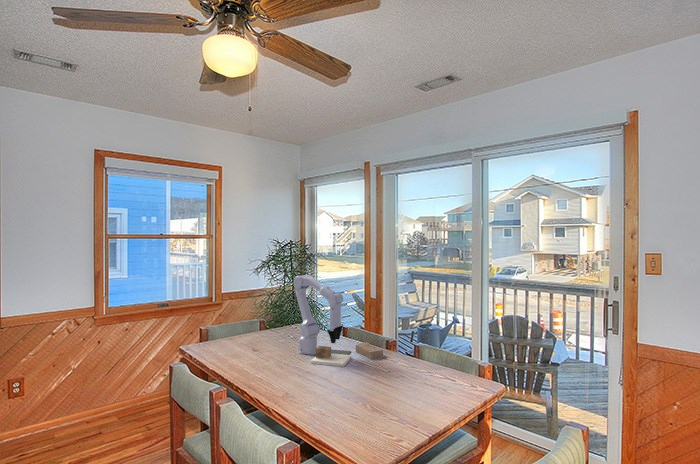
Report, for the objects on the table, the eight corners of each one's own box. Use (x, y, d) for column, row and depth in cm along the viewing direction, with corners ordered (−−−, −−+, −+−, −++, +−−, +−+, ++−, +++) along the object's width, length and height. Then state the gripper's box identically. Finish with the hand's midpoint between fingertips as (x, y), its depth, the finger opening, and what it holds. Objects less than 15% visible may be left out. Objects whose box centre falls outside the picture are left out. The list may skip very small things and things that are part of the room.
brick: (384, 357, 204) (384, 348, 204) (371, 360, 199) (371, 351, 199) (366, 350, 218) (366, 341, 218) (354, 352, 213) (354, 344, 213)
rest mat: (326, 354, 208) (326, 353, 208) (330, 350, 216) (330, 349, 216) (347, 356, 205) (347, 355, 205) (350, 352, 212) (350, 351, 212)
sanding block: (315, 357, 198) (315, 348, 198) (318, 355, 203) (318, 345, 203) (328, 359, 196) (328, 349, 196) (331, 356, 201) (331, 346, 201)
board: (310, 363, 194) (310, 360, 194) (320, 355, 207) (320, 352, 207) (343, 366, 189) (343, 363, 189) (351, 358, 202) (351, 355, 202)
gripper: (338, 319, 193) (338, 345, 193) (346, 313, 207) (346, 338, 207) (325, 318, 195) (325, 344, 195) (334, 312, 209) (334, 337, 209)
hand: (335, 341), depth 201 cm, fingers open, 7 cm apart
